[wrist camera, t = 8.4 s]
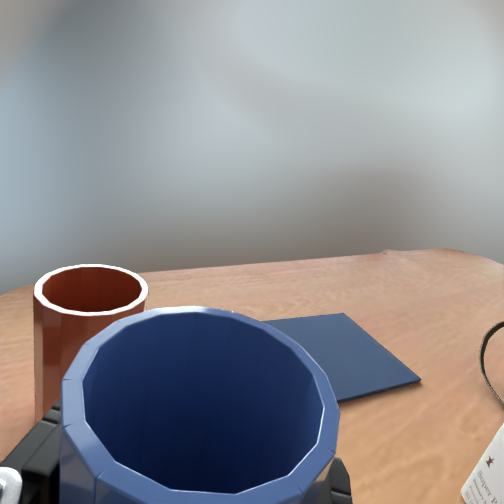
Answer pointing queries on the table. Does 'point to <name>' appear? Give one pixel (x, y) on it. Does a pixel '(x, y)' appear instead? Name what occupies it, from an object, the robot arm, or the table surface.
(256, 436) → the blue tumbler
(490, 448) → the rectangular carton
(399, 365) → the blue mat
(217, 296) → the table surface
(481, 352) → the binoculars
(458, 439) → the table surface
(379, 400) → the table surface
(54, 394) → the terracotta tumbler
